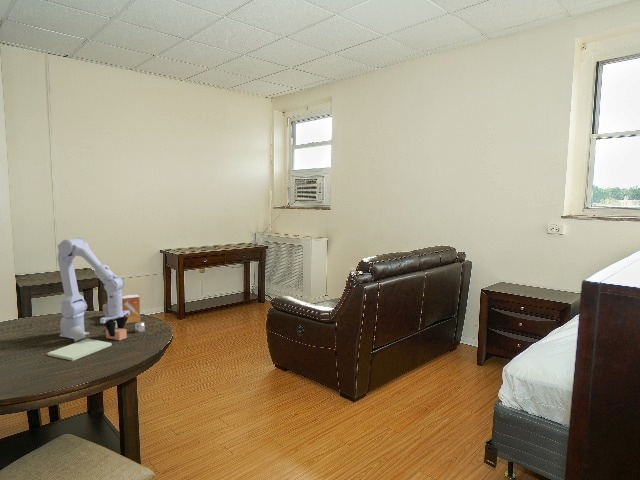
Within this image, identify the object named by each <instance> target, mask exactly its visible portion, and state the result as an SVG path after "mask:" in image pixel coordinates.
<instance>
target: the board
mask: <svg viewBox="0 0 640 480" xmlns="http://www.w3.org/2000/svg"><path fill="white" fill-rule="evenodd" d="M111 346H112V342H108V341H102V340H97V339H91V338H84V339H83V340H80V341H77V342H74V343H71V344H69V345H66V346H62V347H60V348H56V349H55V350H51V351H49V352H47V356H49V357H54V358H59V359H65V360H68V361H72V362H74V361H76V360H78V359H81V358H83V357H86V356H88V355H92V354H94V353H96V352H99V351H101V350H103V349H106V348H109V347H111Z"/></svg>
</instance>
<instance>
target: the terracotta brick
mask: <svg viewBox="0 0 640 480" xmlns="http://www.w3.org/2000/svg"><path fill="white" fill-rule="evenodd" d="M127 333H128V332H127V329H126V328H124V329H121V328H116V327H115V335H114V336H113V337H112V336H110V335H109V332H108V330H107V328H106V329H105V338H106V339H111V340H116V341H117V340H118V341H121V340H123V339H124V340H125V339H127V338H128V336H127Z"/></svg>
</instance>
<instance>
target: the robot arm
mask: <svg viewBox="0 0 640 480" xmlns="http://www.w3.org/2000/svg"><path fill="white" fill-rule="evenodd" d="M89 246H90V245H89V243H88V242H86V240H85V239H84V238H83V237H77V238H70V239H63V240H62V241H60V243H58V245H57V250H58V253H57V263H58V269H59V273H60V277H61V283H62V288H63V292H64V294H63V295H64V297H63V299H62V300H61V302H60V303H61V306H60V307H61V308H60V313H61V315H62V316H63V317H61V319H60V322H59V323H60V324H59V325H60V334H59V335H58V336H59V337H61V338H62V337H63V338H67V339H72V340H74V339H73V337H72V335H71V334H70V332H69V330H70V329H71V328H73V327H76V326H80V327H81V329H82V331H83V333H84V334H85V336H87V335H89V334H90V332H87V331H85V318H84V317H85V316H84V315H85V312H86V311H87V309H88V304H87V302H86V300H85V299H84V296H83V295H82V294H80V292H79V287H78V282H77V281H78V280H77V275H76V271H75V265H74V261H73V260H74V259H75V258H76V257H81V258H83V260H85V261H86V262H87V263H88V265H90V266H91V268H93V269H94V274H95V276H96V277H97V278H98V279H99V280H100V281H101V282H102V283H103V288H104V290H105V291H106V295H107V302H108V315H107V316H103V317H101V318H99V322H100V324H103V325H104V326H105V327H106V329H107V330H108V332H109V335H110V336H112V337H113V336H114V335H115V325H116V322H117V328H121V329H125V326H126V324H127V323H126V321H127V319H128V317H125V316H126V315H130V311H128V310H126V311H122V296H123V291H122V289H123V288H124V286H125V281H124V279H123V278H122V276H121V277H120V276H117V275H116V274H115V272H113V271H112V270H111V267H110V265H107V264H104V263H101V262H100V260H99V259H98V258H97V256H96V255H95V254H94V253H93V251H92V250H91V249H90V247H89ZM114 319H116V320H114ZM114 321H116V322H114Z"/></svg>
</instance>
